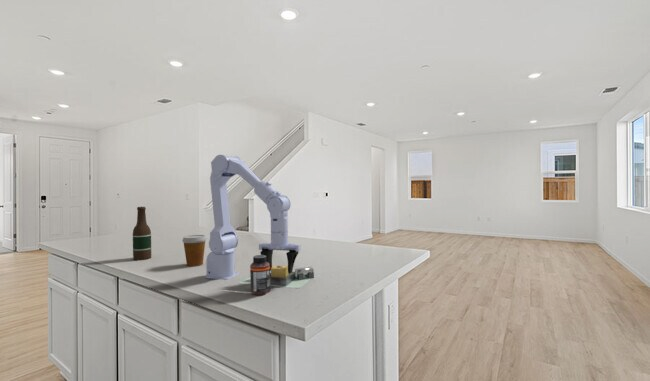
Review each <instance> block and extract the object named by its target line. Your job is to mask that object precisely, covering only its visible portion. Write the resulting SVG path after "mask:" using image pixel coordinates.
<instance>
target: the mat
mask: <svg viewBox="0 0 650 381" xmlns="http://www.w3.org/2000/svg"><path fill="white" fill-rule="evenodd" d="M270 273H271V271H270ZM315 276H316V274H314V277H315ZM310 280H312V278H310V279H309V278H307V277H306V276H304V279H303V280H298V279H295V280H294V281H292V282H291V283H290V284H289V285H287V286H279V285H270V287H278V288H279V287H280V288H291V289H292V288H293V289H300V288H302V287H303V286H305V285H306V284H307V283H308V282H309V281H310ZM238 284H243V285H251V277H250V276H249V277H247V278H245V279H243V280H241V281H239V282H238Z"/></svg>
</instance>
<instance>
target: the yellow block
mask: <svg viewBox="0 0 650 381" xmlns="http://www.w3.org/2000/svg"><path fill="white" fill-rule="evenodd" d="M270 272H271V277H284V278H285V277H287V276H288V275H289V273H288V265H285V264H284V265H282V264H279V265H278V264H276V265H274V266H272V268H271V271H270Z"/></svg>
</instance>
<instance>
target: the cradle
mask: <svg viewBox="0 0 650 381" xmlns="http://www.w3.org/2000/svg"><path fill="white" fill-rule="evenodd" d="M295 279H296V272H295V271H292V272H291V273H289V275H288V276H287V277H285V278H284V277H271V273H270V285H279V286H287V285H289V284H290V283H291V282H292V281H294V280H295Z"/></svg>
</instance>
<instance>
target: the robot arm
mask: <svg viewBox="0 0 650 381" xmlns="http://www.w3.org/2000/svg"><path fill="white" fill-rule="evenodd" d="M210 164H211V165H210V166H211V172H210V178H209V179H210V191H211V192H210V194H211V200H212V201H211V202H212V211H213V221H214V222H213V224H214V227H213V229H212V230H211V231H210V232H209V241H208V248H209V250H210V251H211V252H208V254H207V256H206V262H205V263H206V264H205V265H206V267H205V268H206V276H205V277H204V278H205V279H211V280H212V279H213V280H216V279H218V280H230V279H233V278H234V277H236V276H238V275H239V274H240V272H235V268H236V267H235V252H236V248H237V247H238V245H239V238H238V236H237V234H236V233H237V232H236V229H235V227H234V226H233V225H232V224H231V217H230V207H229V197H228V188H227V187H228V186H227V185H228V184H227V182H229V181H230V179H231V178H232V177H234V176H236V175H237V176H240V178H241V179H243V180H244V181H245V182H246V183H247V184H249V185H250V186H251V187H252V188H253V192H254V195H256V196H257V197H258V198H259V199H260V200H261V201H262V202H263V203H264V204H265V205H266V208H267V210H268V212H269V217H270V242H268V243H267V242H266V243H265V242H262V243H259V244H258V250H259V251H260V254H259V255H266V259H267V260H266V261H267V262H268V263H269V264H270V272H271V268H272V267H273V253H274V251H283V252H284V251H285V252H286V254H285V255H286V259H287V266H288V273H291V272H293V270H294V264H295V262H296V259H297V257H298V255H299V253H300V252H301V244H295V243H289V230H288V229H289V227H288V226H289V220H288V218H289V217H288V211H289V210H290V208H291V201H290V199H289V198H288V196H287V195H281V194H282V193H281V192H280V191H277V190H276V189H275V188H274V187H273V186H272V183H271V182H270V181H266V180H262V181H261V179H260V178H259V177H258V176H257V175H256V174H255V173H254V172H253V171H252V170H251V169H250V168H249V167H248V166H247V163H246V162H245V161H243V160H242V158H240V157H239V156H232V155H230V156H229V155H225V154H218V155H216V156H215V157H214V158H213V159H212V161H210Z"/></svg>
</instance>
